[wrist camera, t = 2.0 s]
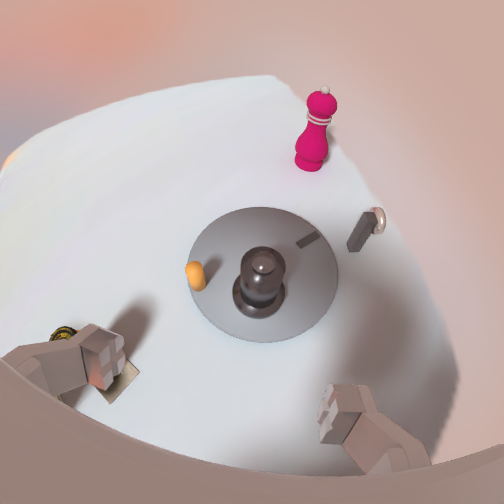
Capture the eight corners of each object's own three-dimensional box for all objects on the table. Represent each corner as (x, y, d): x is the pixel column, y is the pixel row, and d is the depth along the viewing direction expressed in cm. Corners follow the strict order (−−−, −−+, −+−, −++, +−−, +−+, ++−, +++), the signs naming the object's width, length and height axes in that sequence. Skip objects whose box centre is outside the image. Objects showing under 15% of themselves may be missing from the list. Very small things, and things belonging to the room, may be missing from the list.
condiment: (105, 335, 37) (66, 308, 27) (139, 372, 35) (104, 357, 25) (78, 365, 34) (33, 346, 24) (111, 404, 32) (68, 399, 21)
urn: (286, 317, 39) (301, 289, 30) (233, 320, 38) (232, 293, 30) (280, 270, 43) (291, 233, 34) (231, 272, 42) (230, 235, 34)
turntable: (349, 333, 38) (364, 322, 33) (186, 345, 36) (178, 335, 32) (320, 208, 51) (327, 188, 46) (191, 211, 49) (187, 190, 44)
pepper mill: (290, 168, 58) (305, 88, 41) (294, 150, 62) (308, 76, 45) (322, 176, 57) (344, 98, 40) (324, 157, 61) (344, 85, 44)
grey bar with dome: (365, 257, 47) (388, 223, 38) (350, 257, 47) (372, 223, 38) (359, 237, 49) (379, 201, 41) (345, 237, 49) (364, 201, 40)
